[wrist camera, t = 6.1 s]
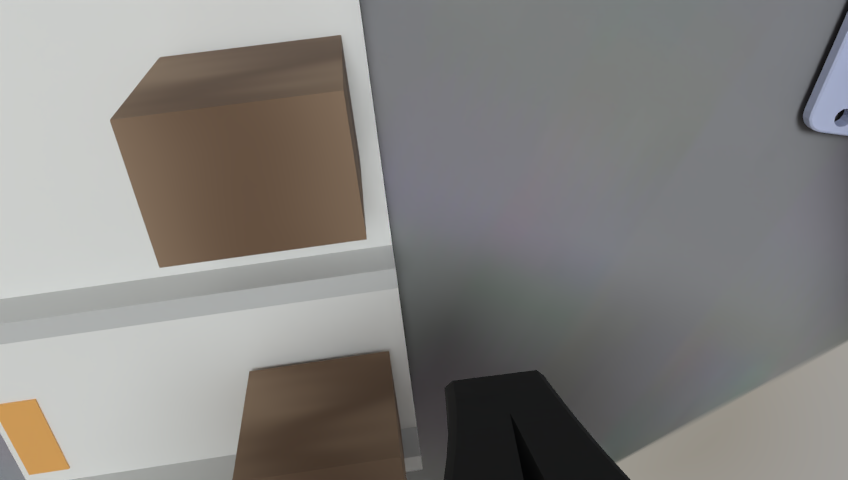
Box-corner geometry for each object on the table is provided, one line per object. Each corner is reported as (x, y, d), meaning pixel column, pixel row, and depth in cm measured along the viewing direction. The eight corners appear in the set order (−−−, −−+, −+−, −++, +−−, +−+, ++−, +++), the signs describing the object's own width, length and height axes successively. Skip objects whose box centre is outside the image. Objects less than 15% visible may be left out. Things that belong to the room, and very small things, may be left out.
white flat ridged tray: (280, -574, 12) (268, -673, 10) (414, 407, 24) (423, 469, 21) (-450, -518, 12) (-646, -607, 9) (53, 462, 23) (22, 531, 21)
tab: (389, 350, 20) (400, 456, 17) (400, 426, 22) (413, 538, 18) (249, 371, 20) (231, 483, 16) (270, 446, 21) (258, 563, 18)
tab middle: (341, 35, 16) (343, 90, 12) (359, 158, 17) (366, 239, 14) (159, 57, 15) (109, 120, 12) (194, 180, 17) (159, 268, 13)
